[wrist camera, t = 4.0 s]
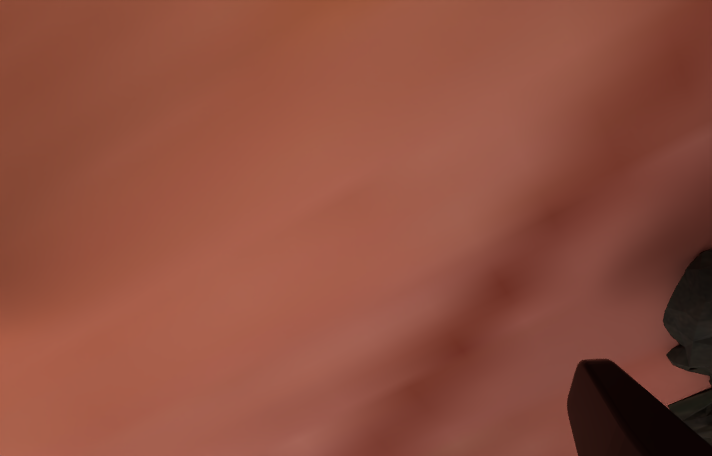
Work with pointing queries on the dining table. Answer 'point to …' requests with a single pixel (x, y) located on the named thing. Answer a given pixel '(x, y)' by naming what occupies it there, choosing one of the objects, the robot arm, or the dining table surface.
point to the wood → (693, 340)
